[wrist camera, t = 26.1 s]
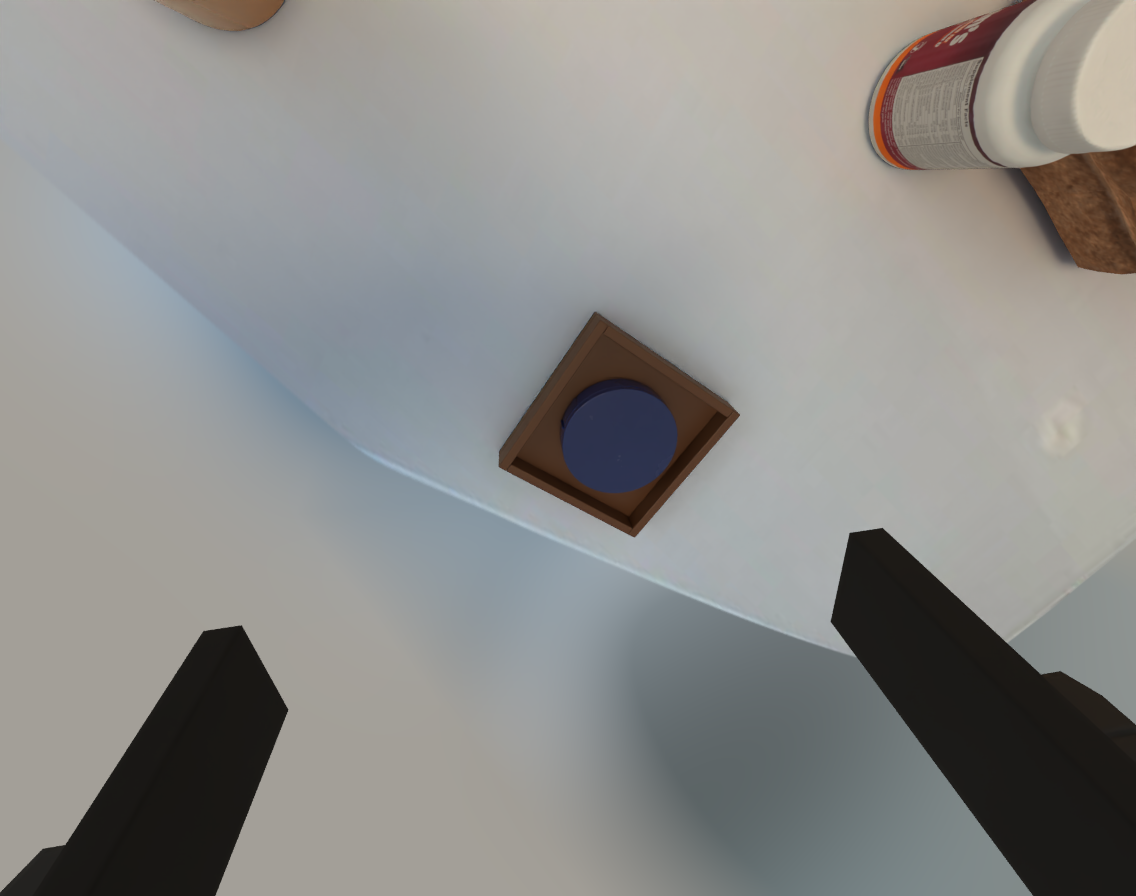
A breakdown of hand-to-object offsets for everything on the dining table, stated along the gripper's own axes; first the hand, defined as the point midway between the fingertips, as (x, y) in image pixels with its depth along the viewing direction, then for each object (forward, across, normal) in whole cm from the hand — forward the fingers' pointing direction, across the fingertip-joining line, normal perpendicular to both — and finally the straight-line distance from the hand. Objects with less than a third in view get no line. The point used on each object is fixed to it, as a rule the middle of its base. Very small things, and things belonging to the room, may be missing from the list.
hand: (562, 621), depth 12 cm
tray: (+22, +5, -7) cm, 24 cm away
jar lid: (+20, +5, -7) cm, 22 cm away
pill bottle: (+23, +23, +10) cm, 34 cm away
